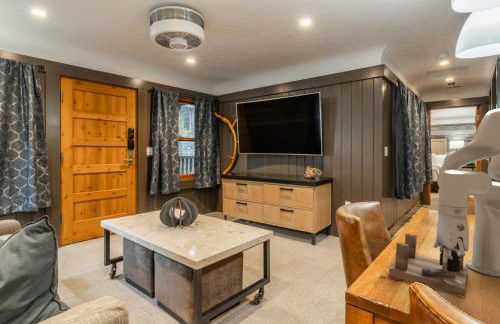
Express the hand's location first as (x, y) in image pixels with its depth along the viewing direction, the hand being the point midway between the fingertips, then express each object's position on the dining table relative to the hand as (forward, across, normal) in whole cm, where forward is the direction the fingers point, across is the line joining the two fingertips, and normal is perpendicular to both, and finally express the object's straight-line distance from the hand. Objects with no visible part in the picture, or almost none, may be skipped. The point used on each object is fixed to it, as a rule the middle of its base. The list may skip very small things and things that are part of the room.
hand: (448, 267), depth 89 cm
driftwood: (+6, +40, -17) cm, 44 cm away
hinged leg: (+2, 0, +3) cm, 4 cm away
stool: (+5, +5, +3) cm, 8 cm away
